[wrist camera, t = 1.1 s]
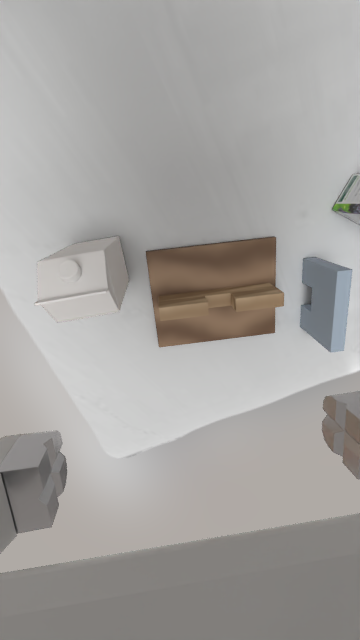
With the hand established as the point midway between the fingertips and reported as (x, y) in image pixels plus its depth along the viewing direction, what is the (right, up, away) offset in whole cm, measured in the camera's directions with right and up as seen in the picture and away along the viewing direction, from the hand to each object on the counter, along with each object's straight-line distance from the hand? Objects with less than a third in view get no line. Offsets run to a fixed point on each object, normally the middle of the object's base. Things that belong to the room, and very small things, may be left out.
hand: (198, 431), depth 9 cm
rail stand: (+5, +8, +41) cm, 42 cm away
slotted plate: (+21, +8, +42) cm, 48 cm away
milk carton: (-13, +12, +38) cm, 42 cm away
